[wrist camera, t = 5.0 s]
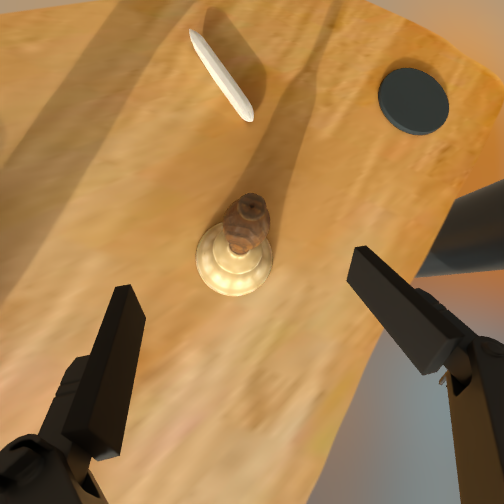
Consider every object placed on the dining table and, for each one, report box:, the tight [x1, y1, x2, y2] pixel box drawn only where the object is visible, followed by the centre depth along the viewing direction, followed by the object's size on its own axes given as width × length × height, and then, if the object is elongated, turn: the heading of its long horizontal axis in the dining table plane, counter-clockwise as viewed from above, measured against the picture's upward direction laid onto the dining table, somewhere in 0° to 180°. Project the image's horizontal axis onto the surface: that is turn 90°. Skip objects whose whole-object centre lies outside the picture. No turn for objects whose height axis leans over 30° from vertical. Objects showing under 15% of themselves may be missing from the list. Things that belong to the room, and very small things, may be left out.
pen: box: [189, 29, 254, 122], centre depth 29 cm, size 2×14×2 cm, turn 34°
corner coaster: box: [378, 68, 449, 135], centre depth 32 cm, size 10×10×1 cm
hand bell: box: [196, 193, 273, 296], centre depth 18 cm, size 8×8×16 cm
